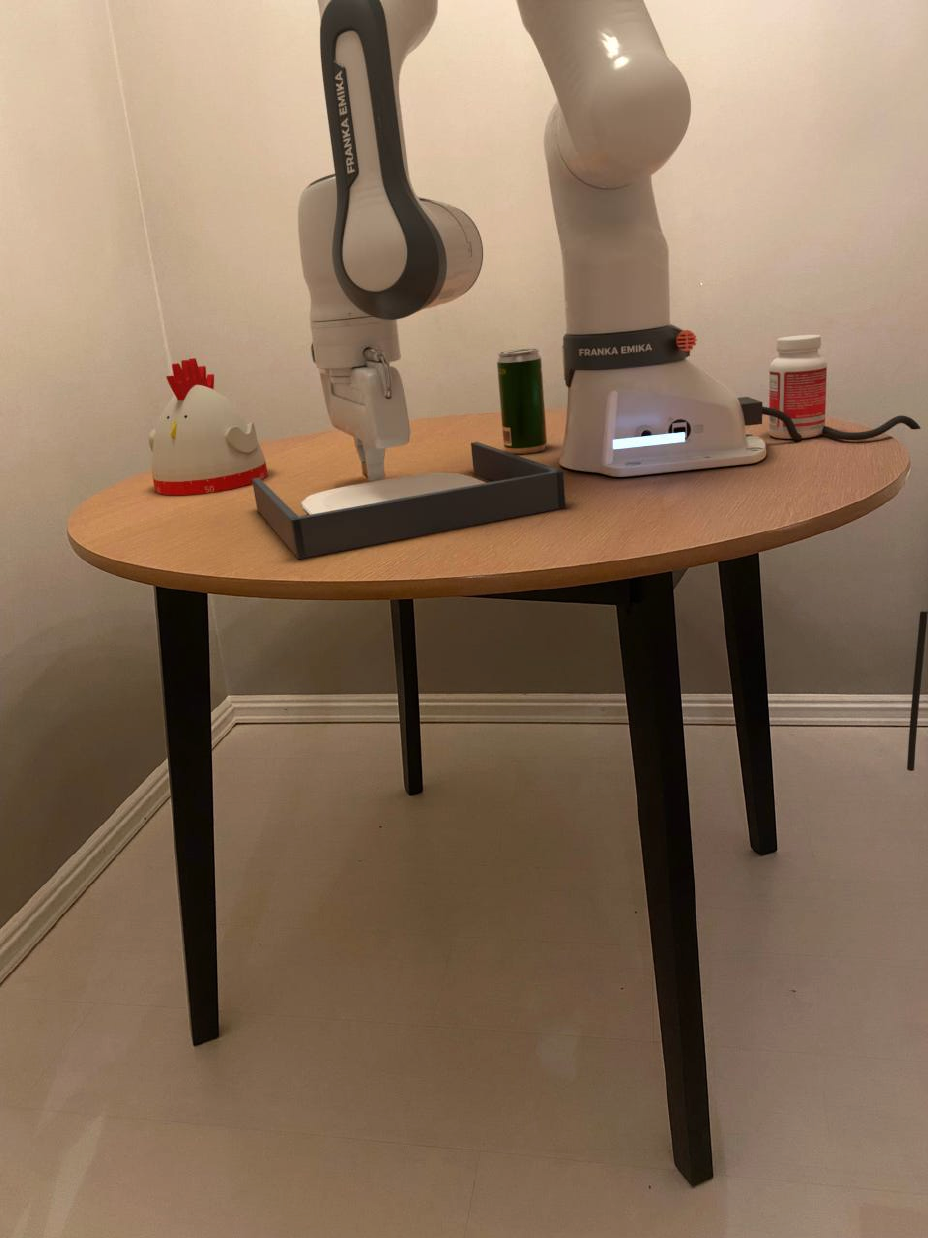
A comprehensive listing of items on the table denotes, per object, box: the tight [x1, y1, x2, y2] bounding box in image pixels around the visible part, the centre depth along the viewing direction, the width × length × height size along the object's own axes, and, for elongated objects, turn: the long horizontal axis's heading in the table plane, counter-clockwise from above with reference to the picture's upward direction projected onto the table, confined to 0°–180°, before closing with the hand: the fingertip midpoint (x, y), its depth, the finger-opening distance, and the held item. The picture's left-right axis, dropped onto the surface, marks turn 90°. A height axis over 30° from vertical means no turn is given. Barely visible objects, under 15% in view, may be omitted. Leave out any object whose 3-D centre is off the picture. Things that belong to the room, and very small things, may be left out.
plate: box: [300, 471, 486, 515], centre depth 93 cm, size 18×18×2 cm
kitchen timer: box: [148, 357, 269, 496], centre depth 115 cm, size 14×14×15 cm
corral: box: [252, 441, 567, 560], centre depth 93 cm, size 22×26×4 cm
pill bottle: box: [768, 334, 828, 440], centre depth 108 cm, size 6×6×11 cm
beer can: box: [496, 348, 548, 455], centre depth 115 cm, size 5×5×12 cm
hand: (374, 478), depth 102 cm, fingers closed
